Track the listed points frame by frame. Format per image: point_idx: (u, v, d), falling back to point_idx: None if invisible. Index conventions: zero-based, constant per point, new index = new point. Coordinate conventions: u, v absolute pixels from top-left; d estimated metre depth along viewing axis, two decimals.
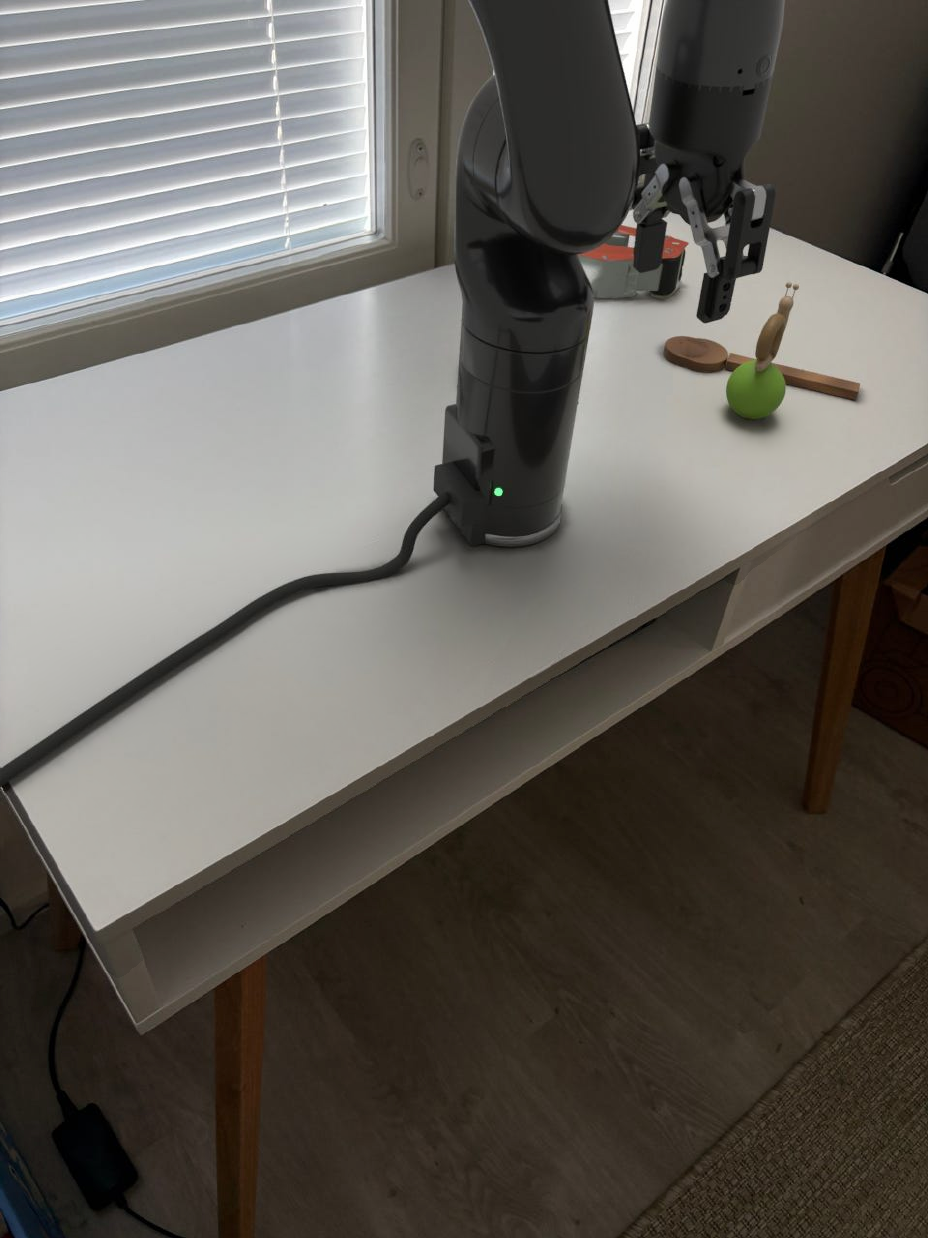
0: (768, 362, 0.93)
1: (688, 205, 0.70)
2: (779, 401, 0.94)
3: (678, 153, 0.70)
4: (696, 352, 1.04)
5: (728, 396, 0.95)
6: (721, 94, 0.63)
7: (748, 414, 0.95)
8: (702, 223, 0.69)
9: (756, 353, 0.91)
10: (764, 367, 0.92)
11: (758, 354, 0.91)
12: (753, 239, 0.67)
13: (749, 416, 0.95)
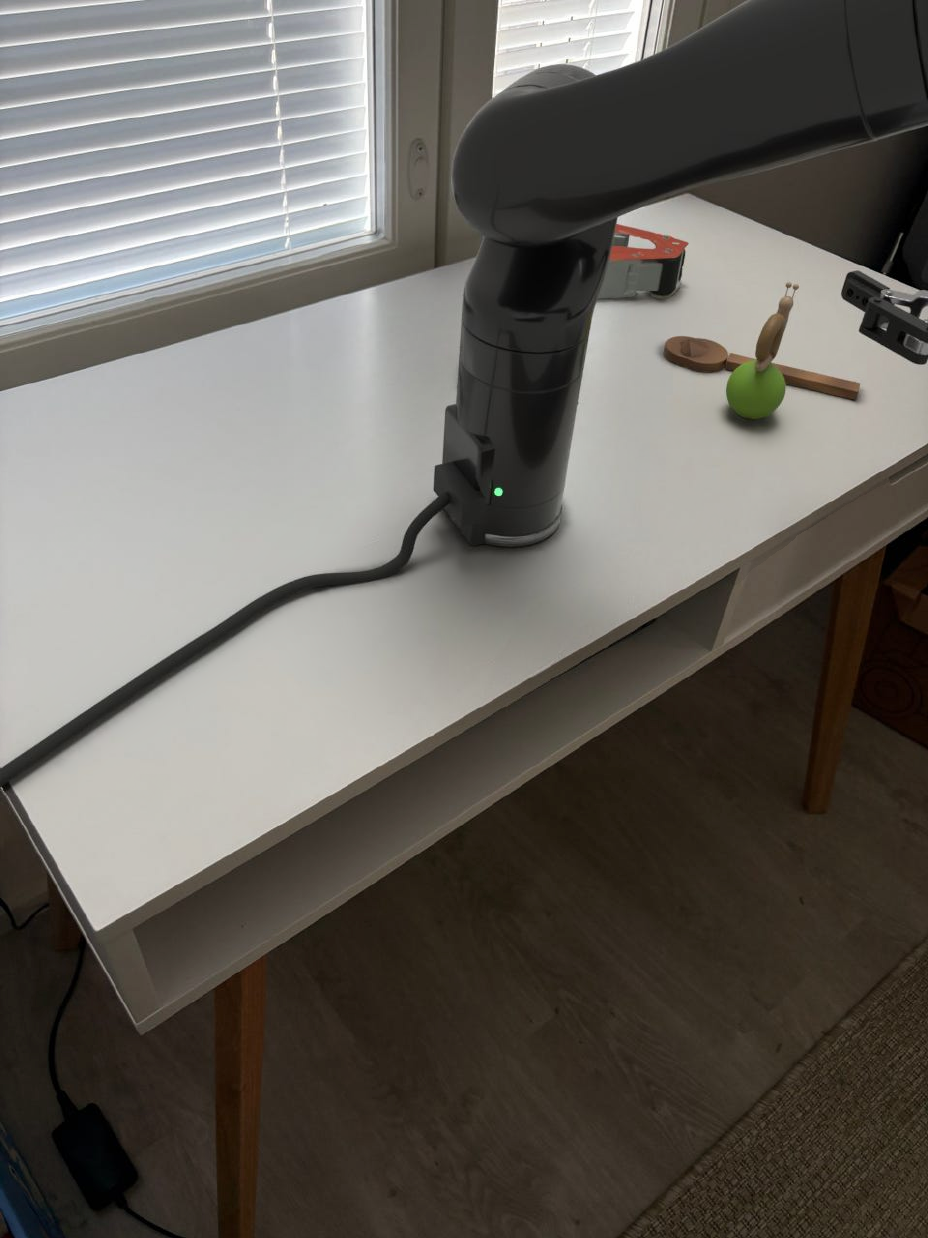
0: (768, 362, 0.93)
1: None
2: (779, 401, 0.94)
3: None
4: (696, 352, 1.04)
5: (728, 396, 0.95)
6: None
7: (748, 414, 0.95)
8: None
9: (756, 353, 0.91)
10: (764, 367, 0.92)
11: (758, 354, 0.91)
12: (889, 330, 0.72)
13: (749, 416, 0.95)
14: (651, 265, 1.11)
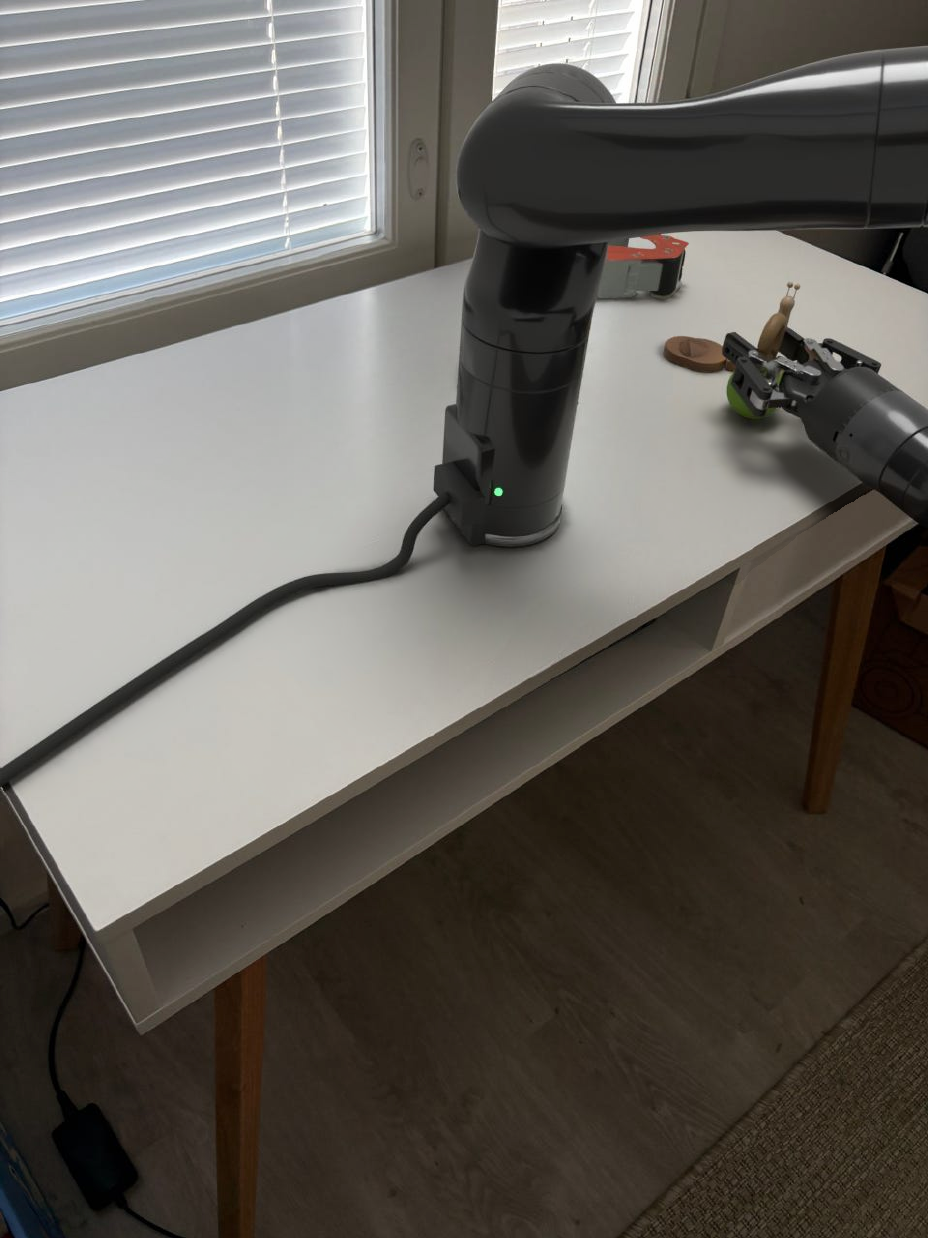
0: None
1: (802, 366, 0.88)
2: None
3: None
4: (696, 352, 1.04)
5: (729, 395, 0.95)
6: (846, 416, 0.82)
7: (748, 413, 0.95)
8: (782, 365, 0.88)
9: None
10: None
11: None
12: (744, 385, 0.88)
13: (749, 416, 0.95)
14: (651, 265, 1.11)
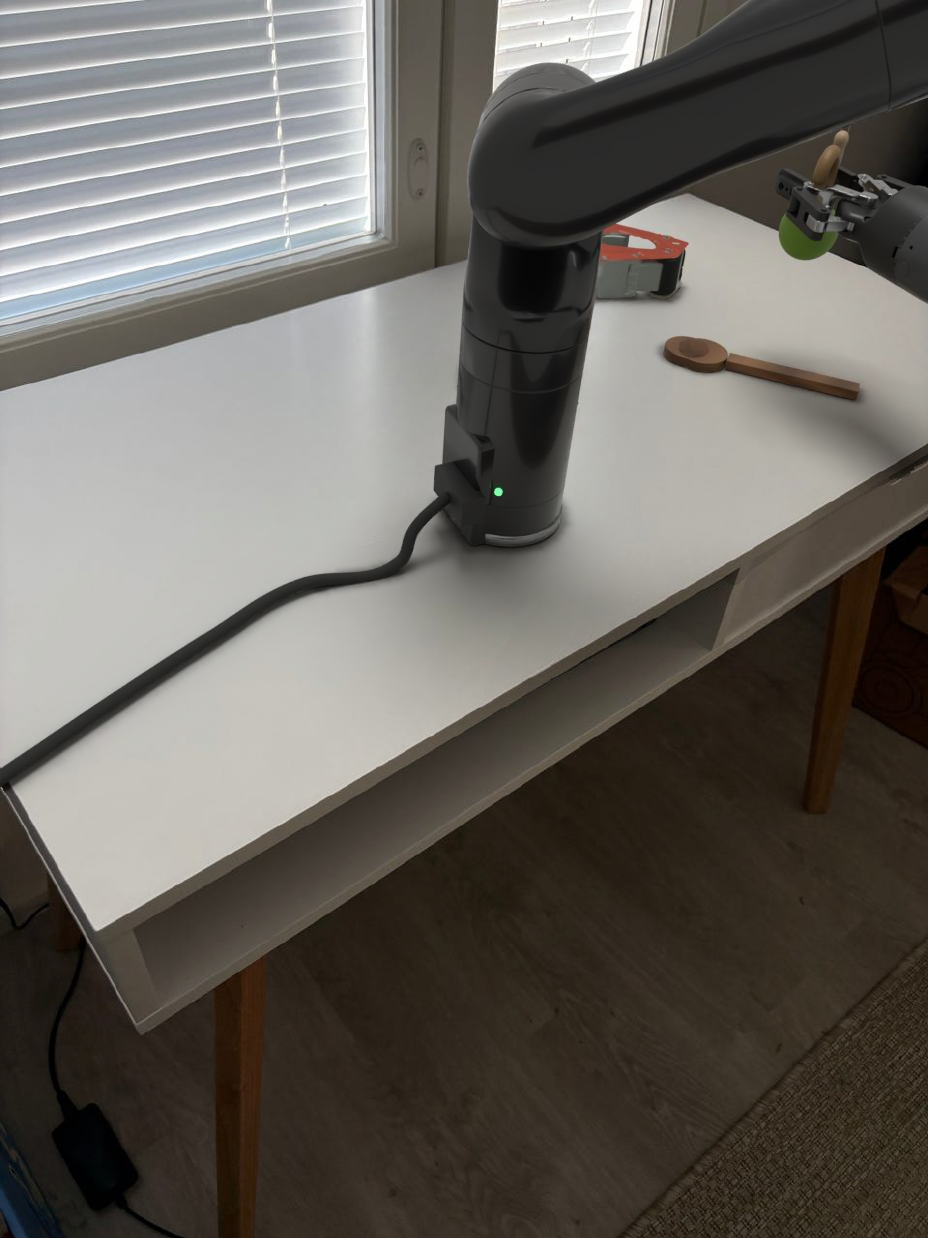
0: None
1: (859, 192, 0.88)
2: (833, 239, 0.94)
3: None
4: (696, 352, 1.04)
5: (781, 236, 0.96)
6: (906, 230, 0.82)
7: (801, 253, 0.95)
8: (838, 191, 0.88)
9: None
10: None
11: None
12: (800, 211, 0.89)
13: (802, 256, 0.95)
14: (651, 265, 1.11)
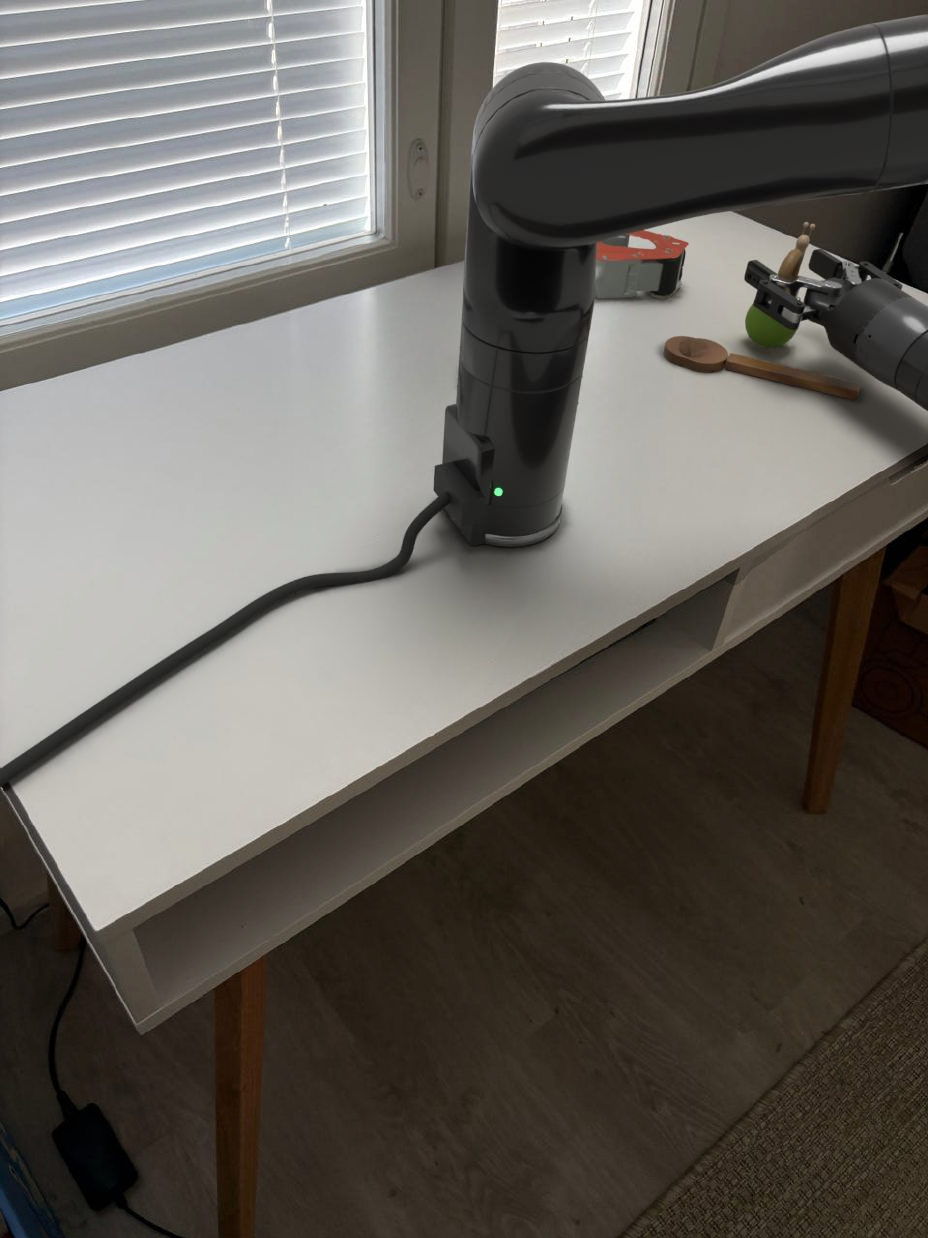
0: None
1: (822, 282, 0.98)
2: (794, 331, 1.04)
3: None
4: (696, 352, 1.04)
5: (748, 325, 1.05)
6: (865, 320, 0.93)
7: (765, 342, 1.05)
8: (805, 283, 0.98)
9: None
10: None
11: None
12: (772, 304, 0.98)
13: (766, 344, 1.05)
14: (651, 265, 1.11)
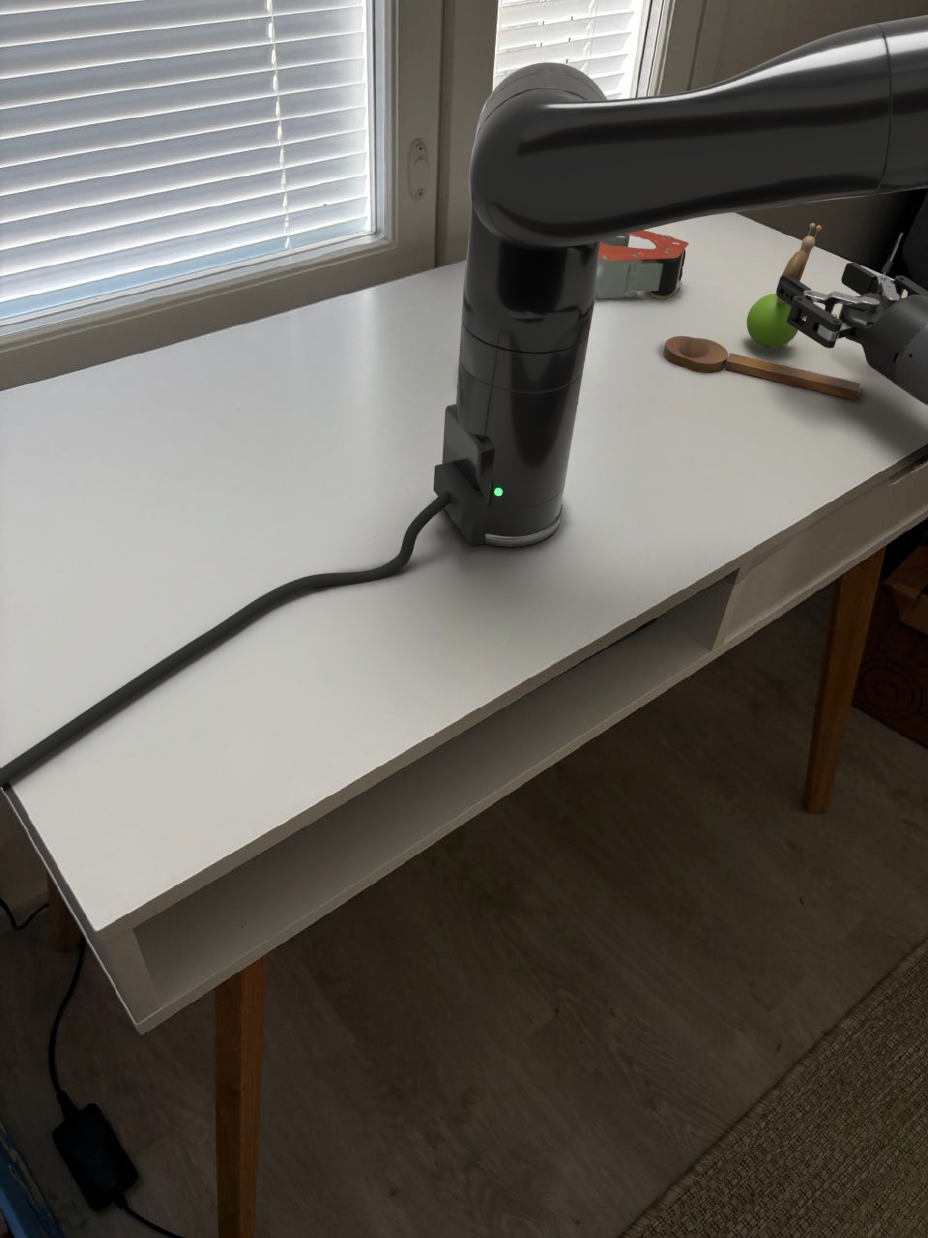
0: None
1: (859, 298, 0.95)
2: (795, 332, 1.04)
3: None
4: (696, 352, 1.04)
5: (749, 325, 1.05)
6: (906, 338, 0.90)
7: (766, 342, 1.05)
8: (841, 299, 0.95)
9: None
10: None
11: None
12: (807, 321, 0.95)
13: (767, 344, 1.05)
14: (651, 265, 1.11)
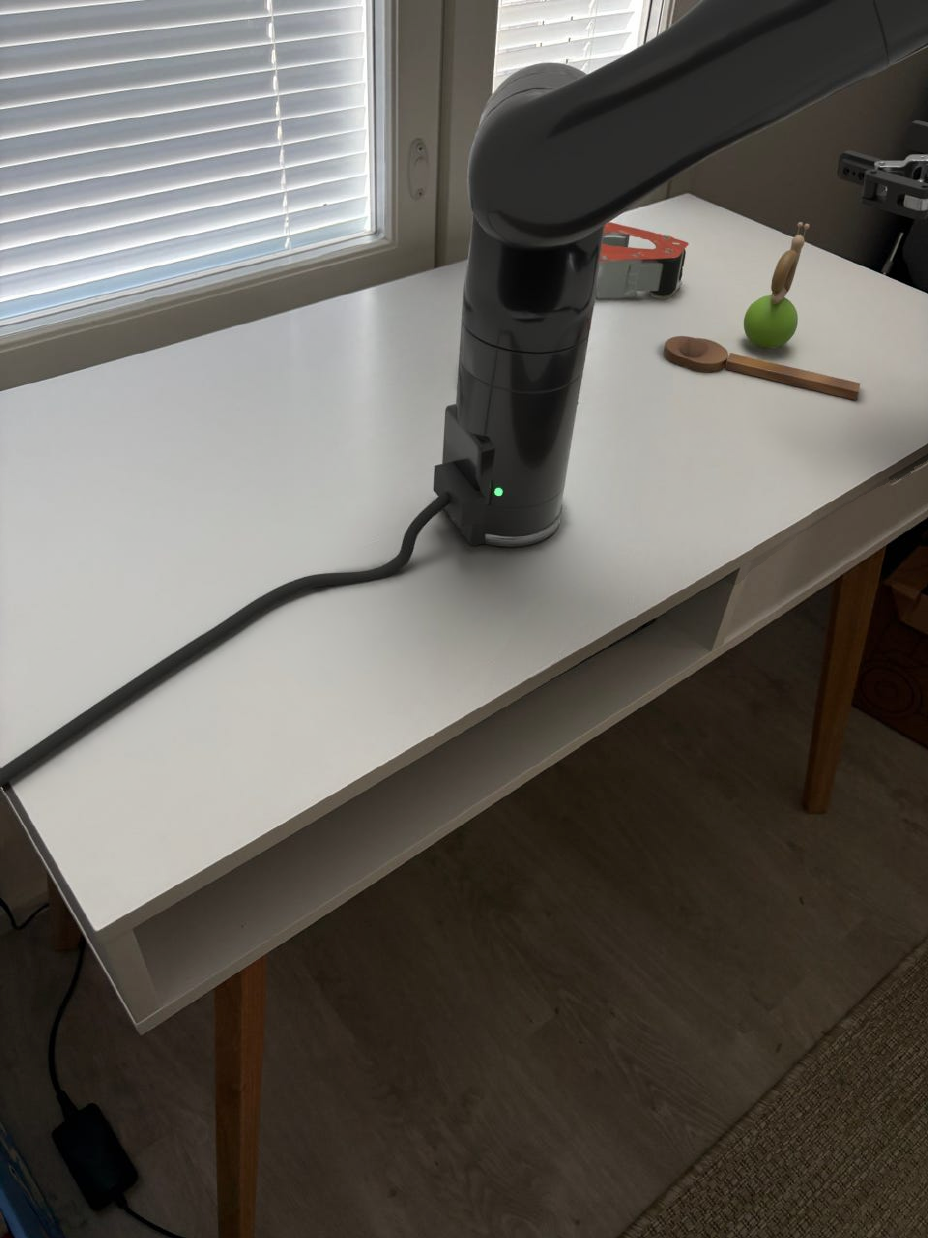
0: (782, 295, 1.03)
1: None
2: (792, 331, 1.04)
3: None
4: (696, 352, 1.04)
5: (746, 328, 1.06)
6: None
7: (764, 343, 1.05)
8: (922, 161, 0.81)
9: (772, 286, 1.01)
10: (779, 299, 1.02)
11: (774, 287, 1.01)
12: (889, 195, 0.81)
13: (765, 345, 1.05)
14: (651, 265, 1.11)
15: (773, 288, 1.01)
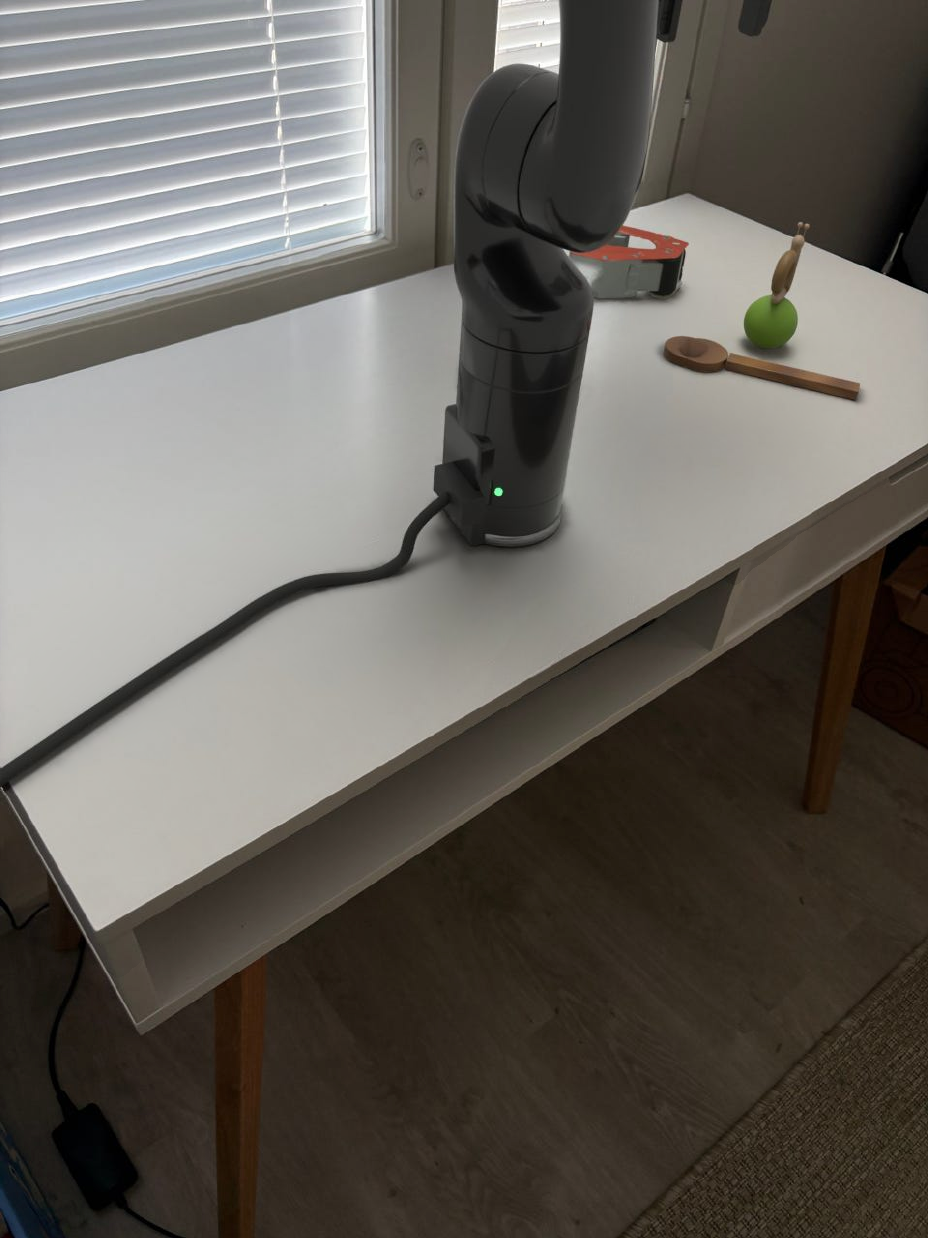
0: (782, 295, 1.03)
1: None
2: (792, 331, 1.04)
3: None
4: (696, 352, 1.04)
5: (746, 328, 1.06)
6: None
7: (764, 343, 1.05)
8: None
9: (772, 286, 1.01)
10: (779, 299, 1.02)
11: (774, 287, 1.01)
12: None
13: (765, 345, 1.05)
14: (651, 265, 1.11)
15: (773, 288, 1.01)
